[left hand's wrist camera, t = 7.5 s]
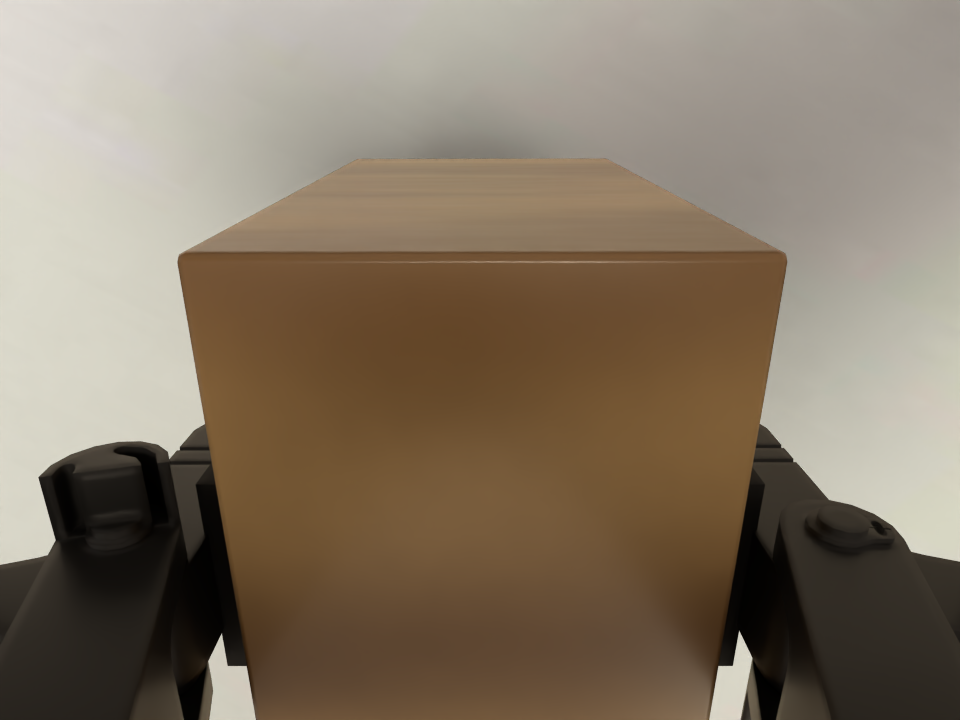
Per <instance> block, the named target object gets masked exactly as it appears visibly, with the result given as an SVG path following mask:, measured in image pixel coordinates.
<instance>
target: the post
mask: <svg viewBox="0 0 960 720" xmlns="http://www.w3.org/2000/svg"><path fill="white" fill-rule="evenodd" d="M786 266H787V257H786V254H785V253H784V252H782V251H780V250H778V249H776V248H774V247H772V246H770V245H768V244H767V243H765V242H763V241H761V240H759V239H757V238H755V237H753V236H751V235H749V234H748V233H746V232H744V231H742V230H740V229H738V228H736V227H734V226H732V225H731V224H729V223H727V222H725V221H723V220H721V219H719V218H717V217H715V216H714V215H712V214H710V213H708V212H706V211H704V210H702V209H700V208H698V207H697V206H695V205H693V204H691V203H689V202H687V201H685V200H683V199H681V198H679V197H678V196H676V195H674V194H672V193H670V192H668V191H666V190H664V189H662V188H661V187H659V186H657V185H655V184H653V183H651V182H649V181H647V180H645V179H644V178H642V177H640V176H638V175H636V174H634V173H632V172H630V171H628V170H627V169H625V168H623V167H621V166H619V165H617V164H615V163H613V162H611V161H609V160H607V159H357V160H355V161H353V162H351V163H349V164H347V165H345V166H343V167H342V168H340V169H338V170H336V171H334V172H332V173H330V174H329V175H327V176H325V177H323V178H321V179H319V180H317V181H315V182H314V183H312V184H310V185H308V186H306V187H304V188H302V189H300V190H299V191H297V192H295V193H293V194H291V195H289V196H287V197H286V198H284V199H282V200H280V201H278V202H276V203H274V204H272V205H271V206H269V207H267V208H265V209H263V210H261V211H259V212H258V213H256V214H254V215H252V216H250V217H248V218H246V219H244V220H243V221H241V222H239V223H237V224H235V225H233V226H231V227H230V228H228V229H226V230H224V231H222V232H220V233H218V234H216V235H215V236H213V237H211V238H209V239H207V240H205V241H203V242H202V243H200V244H198V245H196V246H194V247H192V248H190V249H188V250H187V251H185V252H183V253H181V254H179V257H178V268H179V274H180V280H181V286H182V292H183V297H184V303H185V309H186V315H187V321H188V326H189V332H190V338H191V344H192V350H193V355H194V361H195V367H196V373H197V379H198V385H199V390H200V396H201V402H202V408H203V414H204V419H205V425H206V431H207V437H208V443H209V449H210V454H211V460H212V466H213V472H214V478H215V483H216V489H217V495H218V501H219V507H220V513H221V518H222V524H223V530H224V536H225V542H226V547H227V553H228V559H229V565H230V571H231V577H232V582H233V588H234V594H235V600H236V606H237V611H238V617H239V623H240V629H241V635H242V641H243V646H244V652H245V658H246V664H247V670H248V675H249V681H250V687H251V693H252V699H253V705H254V710H255V716H256V720H709V717H710V711H711V706H712V700H713V694H714V688H715V682H716V676H717V670H718V665H719V659H720V653H721V647H722V641H723V635H724V629H725V624H726V618H727V612H728V606H729V600H730V594H731V588H732V583H733V577H734V571H735V565H736V559H737V553H738V547H739V542H740V536H741V530H742V524H743V518H744V512H745V506H746V501H747V495H748V489H749V483H750V477H751V471H752V465H753V460H754V454H755V448H756V442H757V436H758V430H759V424H760V419H761V413H762V407H763V401H764V395H765V389H766V383H767V378H768V372H769V366H770V360H771V354H772V348H773V342H774V337H775V331H776V325H777V319H778V313H779V307H780V301H781V296H782V290H783V284H784V278H785V272H786Z"/></svg>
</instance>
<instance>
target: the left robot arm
mask: <svg viewBox="0 0 960 720" xmlns="http://www.w3.org/2000/svg"><path fill="white" fill-rule="evenodd" d="M38 478H39V481H40V485H41V488H42V492H43V496H44V499H45V503H46V506H47V510H48V514H49V517H50V521H51V525H52V528H53V532H54V535H55V539H56V541H55V543H54V545H53V547H52V549H51V550H50V552H49V554H48V555H47V556H43V557H39V558H35V559H29V560H24V561H19V562H14V563H8V564H3V565H0V720H209V717H210V710H211V702H212V695H213V687H212V680H211V674H210V669H209V664H208V660H209V658H210V656H211V654H212V652H213V650H214V648H215V646H216V644H217V642H218V640H219V638H220V635H221V633H222V636H223V641H224V647H225V653H226V658H227V664H228V666H247V664H246V658H245V652H244V646H243V641H242V635H241V629H240V623H239V617H238V611H237V606H236V600H235V594H234V588H233V582H232V577H231V571H230V565H229V559H228V553H227V547H226V542H225V536H224V530H223V524H222V518H221V513H220V507H219V501H218V495H217V489H216V483H215V478H214V472H213V466H212V460H211V454H210V449H209V443H208V437H207V431H206V425H203V426H201V427H199V428H198V429H196V430H194V431H193V433H192V434H191V435H190V436H189V437H188V438H187V440H186V441H185V442H184V443H183V444H182V445H181V447H180V451H176V452H175V454H174V455H173V456H172V457H171V458H170V459H169V456H168V452H167V451H166V450H164V449H163V448H162V447H160V446H159V445H156V444H151V443H146V442H141V441H138V442H116V443H111V444H105V445H100V446H95V447H92V448H89V449H86V450H83V451H80V452H77V453H74V454H71V455H69V456H67V457H65V458H64V459H62V460H60V461H58V462H56V463H54V464H53V465H51V466H50V467H49V468H48V469H47V470H46V471H45V472H44V473H42V474H41V475H40V476H39V477H38ZM739 631H740V633H741V635H742V637H743V639H744V641H745V643H746V645H747V647H748V649H749V651H750V653H751V655H752V664H751V669H750V674H749V679H748V684H747V690H746V695H745V700H744V705H743V710H742V716H741V720H960V562H958V561H953V560H948V559H942V558H937V557H932V556H926V555H922V554H918V553H914V552H911V551H910V549H909V547H908V545H907V544H906V542H905V540H904V539H903V537H902V536H901V535H900V534H899V533H898V532H897V530H896V529H895V528H894V527H893V526H892V525H890V524H889V523H887V522H886V521H884V520H883V519H881V518H879V517H878V516H876V515H875V514H873V513H870V512H868V511H865V510H863V509H860V508H858V507H855V506H853V505H849V504H845V503H840V502H836V501H831V500H828V498H827V497H826V496H825V495H824V494H823V493H822V491H821V490H820V489H819V488H818V487H817V486H816V484H815V483H814V482H813V481H812V480H811V479H810V478H809V476H808V475H807V474H806V473H805V472H804V471H803V469H802V468H801V467H800V466H799V465H798V464H797V463H796V462H793V458H792V457H791V456H790V454H789V453H788V452H787V451H786V450H785V449H784V448H781V444H780V443H779V442H778V441H777V439H776V438H775V437H774V436H773V435H772V434H771V432H770V431H769V430H768V429H767V428H766V427H764V426H762V425H760V424H759V430H758V436H757V442H756V448H755V454H754V460H753V465H752V471H751V477H750V483H749V489H748V495H747V501H746V506H745V512H744V518H743V524H742V530H741V536H740V542H739V547H738V553H737V559H736V565H735V571H734V577H733V583H732V588H731V594H730V600H729V606H728V612H727V618H726V624H725V629H724V635H723V641H722V647H721V653H720V659H719V665H718V666H733V661H734V656H735V650H736V645H737V639H738V633H739Z"/></svg>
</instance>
